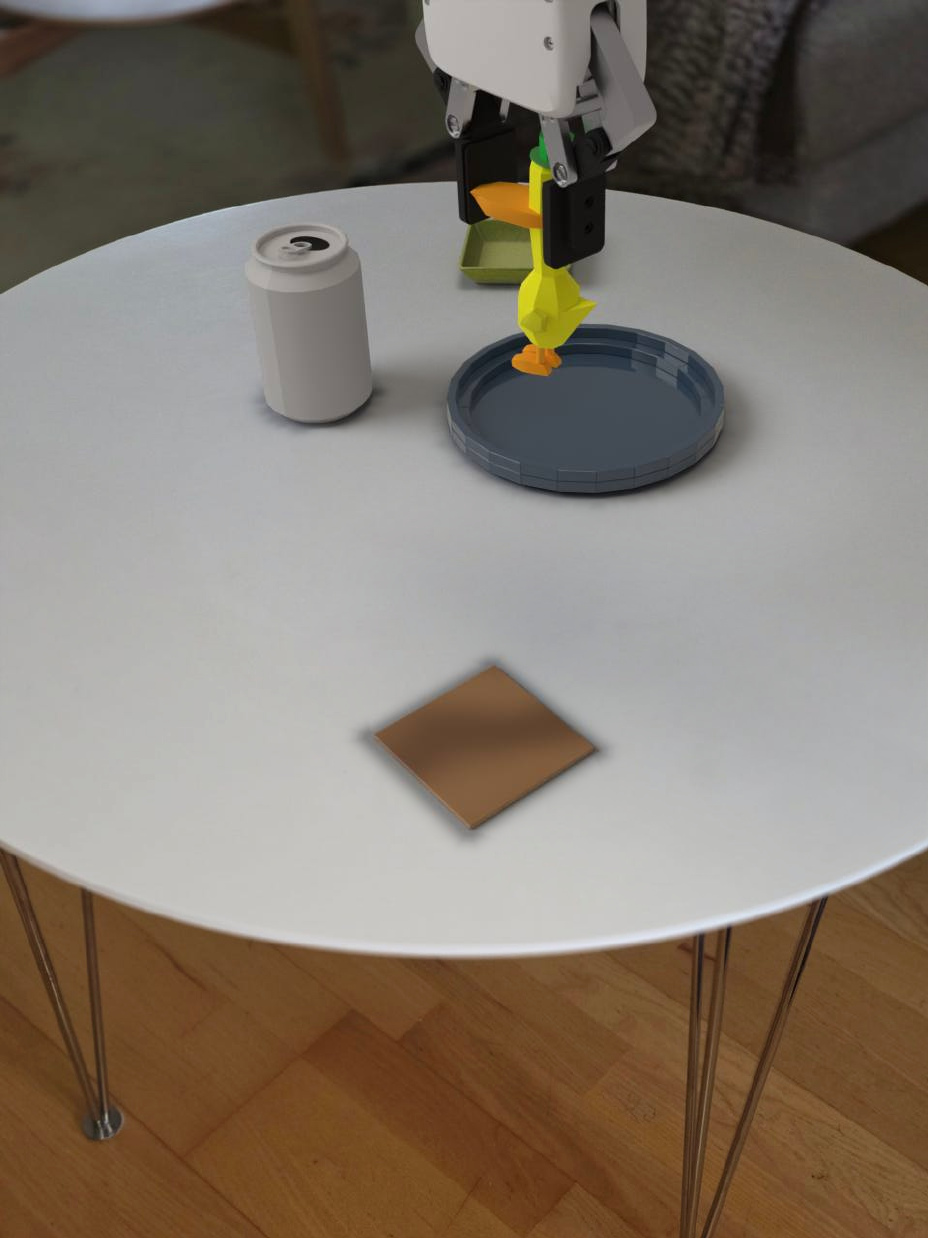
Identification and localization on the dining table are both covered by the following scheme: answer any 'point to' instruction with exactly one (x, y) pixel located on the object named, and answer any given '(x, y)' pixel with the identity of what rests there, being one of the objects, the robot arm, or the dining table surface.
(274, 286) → the can
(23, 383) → the dining table surface
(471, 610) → the dining table surface
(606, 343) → the plate
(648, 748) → the dining table surface
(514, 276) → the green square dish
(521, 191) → the toy figure
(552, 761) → the coaster
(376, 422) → the dining table surface
